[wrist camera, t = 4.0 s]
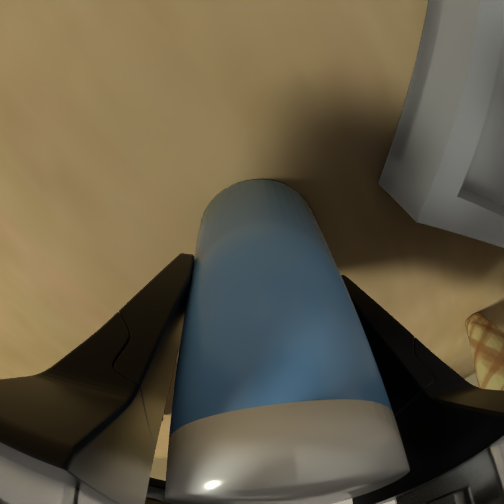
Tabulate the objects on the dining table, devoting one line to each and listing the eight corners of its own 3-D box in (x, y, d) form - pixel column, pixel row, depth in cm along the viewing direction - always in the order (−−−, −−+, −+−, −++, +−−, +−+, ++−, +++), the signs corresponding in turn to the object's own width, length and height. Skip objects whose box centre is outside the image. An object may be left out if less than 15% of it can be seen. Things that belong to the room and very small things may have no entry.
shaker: (296, 284, 13) (342, 503, 5) (194, 271, 12) (169, 509, 5) (329, 192, 11) (459, 444, 3) (208, 169, 10) (154, 477, 2)
